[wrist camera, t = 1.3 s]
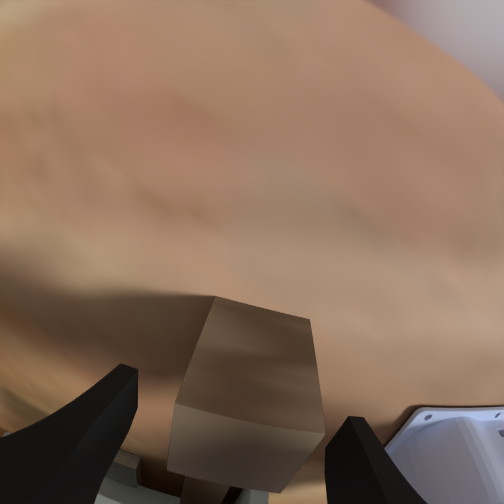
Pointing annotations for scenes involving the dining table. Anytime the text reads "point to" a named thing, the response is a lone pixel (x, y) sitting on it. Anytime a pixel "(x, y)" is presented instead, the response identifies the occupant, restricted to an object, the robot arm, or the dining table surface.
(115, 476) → the grey square block
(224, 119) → the dining table surface
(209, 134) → the dining table surface
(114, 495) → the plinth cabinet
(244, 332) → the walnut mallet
